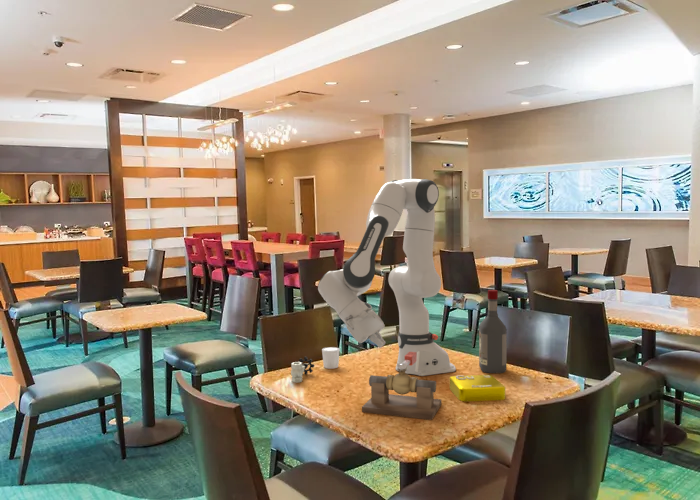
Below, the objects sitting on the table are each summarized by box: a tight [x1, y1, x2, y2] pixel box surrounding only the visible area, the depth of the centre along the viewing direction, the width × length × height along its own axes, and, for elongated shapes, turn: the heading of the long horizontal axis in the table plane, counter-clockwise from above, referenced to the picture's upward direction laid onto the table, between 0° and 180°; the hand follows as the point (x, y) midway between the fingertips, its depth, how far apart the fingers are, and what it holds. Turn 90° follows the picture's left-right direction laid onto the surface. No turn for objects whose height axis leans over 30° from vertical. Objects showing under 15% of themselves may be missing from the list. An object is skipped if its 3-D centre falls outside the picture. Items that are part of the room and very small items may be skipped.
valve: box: [290, 356, 315, 384], centre depth 200 cm, size 7×7×12 cm
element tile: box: [449, 374, 506, 403], centre depth 180 cm, size 15×15×5 cm
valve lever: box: [396, 352, 417, 372], centre depth 172 cm, size 15×3×3 cm, turn 160°
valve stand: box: [361, 371, 443, 421], centre depth 167 cm, size 14×21×11 cm, turn 70°
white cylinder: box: [321, 346, 341, 370], centre depth 215 cm, size 7×7×7 cm
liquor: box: [478, 289, 508, 374], centre depth 207 cm, size 9×9×30 cm
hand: (383, 345), depth 178 cm, fingers closed
